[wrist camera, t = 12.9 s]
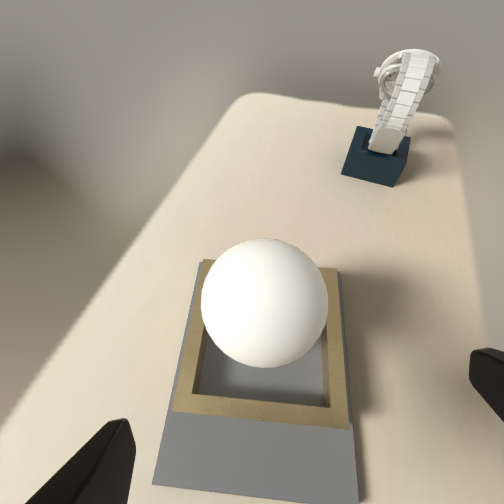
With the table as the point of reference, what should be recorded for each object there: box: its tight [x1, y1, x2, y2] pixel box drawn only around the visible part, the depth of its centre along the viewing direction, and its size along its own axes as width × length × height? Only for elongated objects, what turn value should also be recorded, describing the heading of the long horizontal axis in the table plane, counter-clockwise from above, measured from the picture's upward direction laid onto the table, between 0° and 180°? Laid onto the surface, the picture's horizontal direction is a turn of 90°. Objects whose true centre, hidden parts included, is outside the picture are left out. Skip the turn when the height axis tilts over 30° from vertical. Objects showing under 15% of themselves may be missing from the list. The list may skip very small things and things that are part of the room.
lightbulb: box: [201, 238, 328, 368], centre depth 15 cm, size 6×6×11 cm
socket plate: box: [152, 259, 359, 504], centre depth 19 cm, size 15×12×3 cm
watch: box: [341, 49, 442, 187], centre depth 26 cm, size 6×8×11 cm
